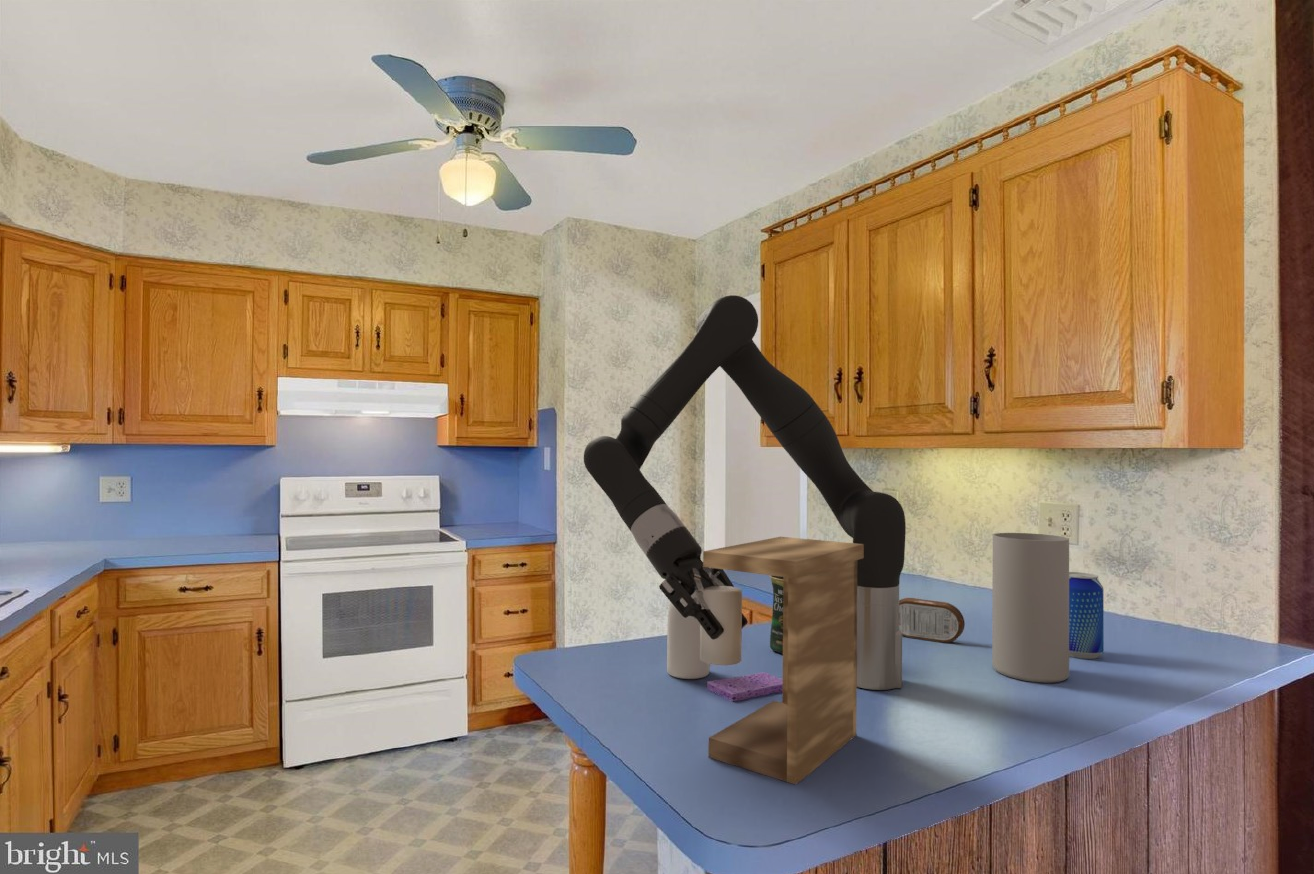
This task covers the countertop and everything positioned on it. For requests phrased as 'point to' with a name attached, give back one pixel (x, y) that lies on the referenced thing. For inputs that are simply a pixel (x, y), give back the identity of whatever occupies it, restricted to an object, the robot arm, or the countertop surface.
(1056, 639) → the cylinder vase
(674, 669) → the milk bottle
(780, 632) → the coffee jar
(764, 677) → the sponges
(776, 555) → the wooden c-shaped stand
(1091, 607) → the beer can
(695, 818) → the countertop surface
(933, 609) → the tin
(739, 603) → the candle
